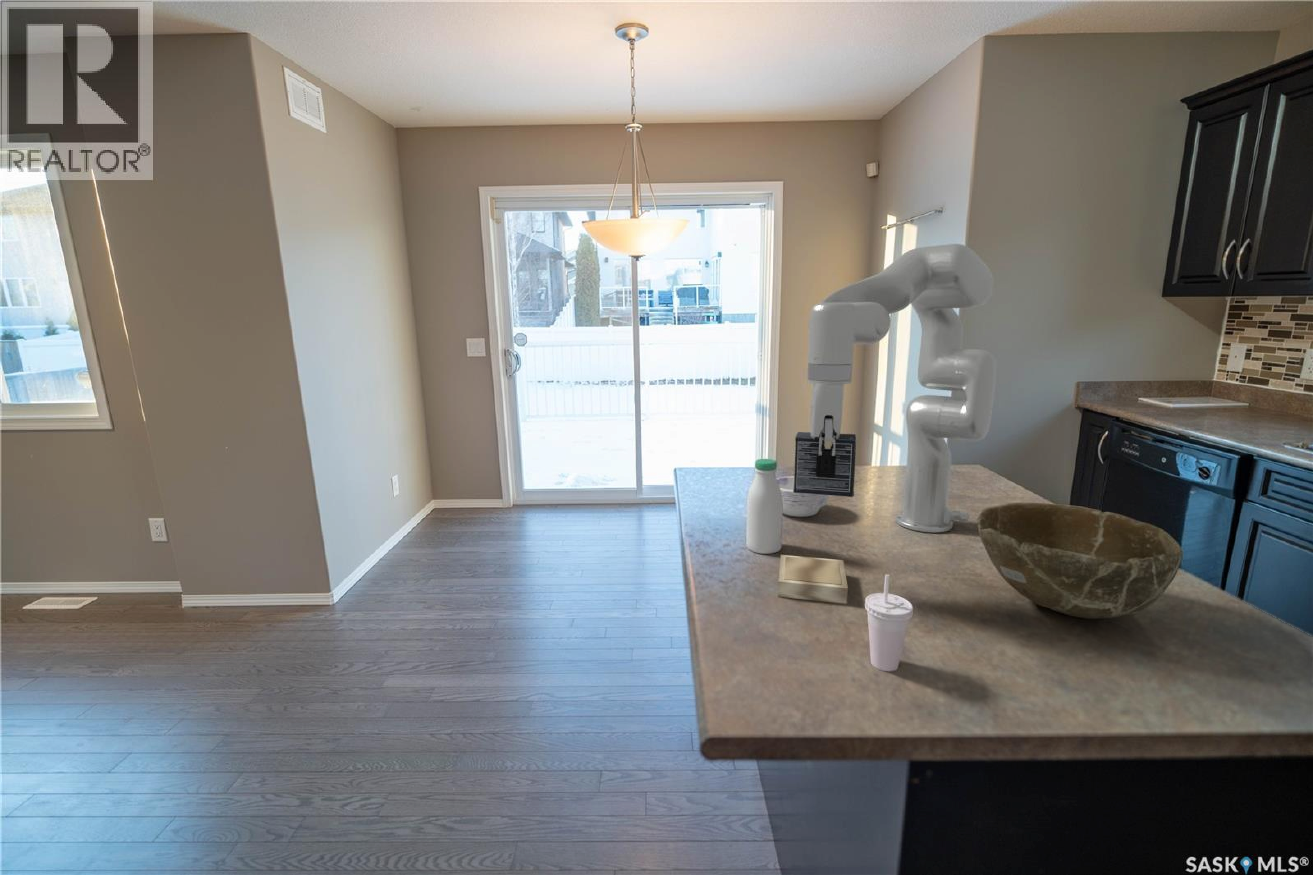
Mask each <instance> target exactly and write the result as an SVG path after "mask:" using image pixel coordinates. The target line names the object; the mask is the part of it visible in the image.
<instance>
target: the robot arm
mask: <svg viewBox="0 0 1313 875" xmlns="http://www.w3.org/2000/svg"><path fill="white" fill-rule="evenodd" d="M994 286H995V285H994V277H993V274H992V272H991V270H990V268H989V267H988V265H986V264H985V262H984V261H983V259H982V258H980V256H979V255H978V254H977V253H976V252H975V251H974V250H972V249H971V248H970V247H968V246H966V245H964V244H961V243H948V244H940V245H933V246H921V247H915V248H912V249H909V250H908V251H906V252H904V253H903V254H901V256H899V257H897V258H896V260H895V261H893V262H892V263H891V264H889V265H888V266H887V267H886V268H884V269H883V270H882V271H881V272H879V273H877V274H875V275H873V276H868V277H867V278H866V277H865V278H863V279H862V280H860V281H857V282H854V283H851V284H849V285H846V286H844V287H842V288H840V289H837V290H836V291H834V292H831V294H829V295H828V296H826V297H825V298H824V299H822V300H821V301H820V302H819V303H816V304H813V306H812V307H811V310H810V313H809V314H810V316H809V317H810V318H809V321H808V328H809V335H808V336H809V337H808V338H809V339H808V354H807V356H808V358H807V362H808V364H807V376H806V377H807V380H806V381H807V383H808V384H809V383H810V384H812V391H811V392H812V393H811V400H810V401H811V405H810V420H809V421H810V426H809V432H810V436H811V438H812V439H815V437H819V453H818V454H817V462H816V476H817V477H826V478H834V477H835V464H836V455H835V440H837V439H839V437H840V434H841V430H842V420H843V411H844V410H843V409H844V396H845V394H844V393H845V385H848V384H851V383H852V379H853V365H854V364H853V362H854V361H853V360H854V346H855V345H872V344H875V343H876V344H877V343H878V342H880V341H881V340H883V339H884V337H886V336H887V334H888V332H889V330H890V328H891V327H890V326H891V316H890V315H891V314H894V313H897V312H898V313H899V312H900V311H903V310H905V309H906V308H908V307H909V306H910V305H911V306H912V308H913V309H914V311H915V313H916V314H917V315H916V316H917V317H918V319H919V323H920V326H921V327H920V328H921V337H920V338H921V339H920V347H919V348H920V349H919V356H918V364H917V366H918V367H917V380H918V383H919V384H920V385H921V387H924V388H927V389H931V390H936V391H937V390H939V391H950V392H962V393H963V392H964V393H965V395H966V397H955V396H949V395H948V396H947V395H936V394H935V395H934V394H927V395H926V394H925V395H919V396H916V397H914V398H913V399H911V400H910V401H909V403H908V405H907V406H906V411H905V420H906V421H905V422H906V429H907V454H906V455H907V456H906V468H905V480H904V483H905V484H904V491H903V494H904V495H903V505H902V511H901V512H898V513H897V514H896V515H895V522H896V523H897V524H898V525H900V526H901V527H904V528H906V529H909V530H911V531H912V530H913V531H916V532H923V533H934V534H935V533H945V532H948V531H950V530H952V528H953V522H954V521H960V522H961V521H962V522H969V519H970V518H969V513H968V512H961V511H960V510H959V509H953V510H952V509H950V508H949V507H948V498H949V489H950V478H951V470H952V469H951V467H952V451H951V450H950V447H949V446H948V444H947V442H946V440H945V439H952V440H960V441H967V442H978V441H982V440H983V439H984V438H985V437H986V436H987V434H988V433H989V429H990V427H991V420H992V415H993V413H992V412H993V407H994V406H993V405H994V399H995V391H996V385H997V384H996V383H997V372H998V368H997V366H998V365H997V361H996V358H995V357H994V355H993V354H992V353H991V352H989V351H988V350H985V349H978V348H977V349H976V348H975V349H974V348H973V349H972V348H963V339H964V338H963V335H964V324H963V322H962V320H961V318H960V316H959V315H958V313H957V312H956V311H955V309H971V308H973V309H974V308H978V307H982V306H983V305H985V304H987V302H988V301H989V300H990V299H991V298H992V297H991V296H992V295H993V291H994ZM821 435H825V437H821ZM832 435H833V438H832ZM835 438H836V439H835ZM822 442H823V443H822Z"/></svg>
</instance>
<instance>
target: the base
mask: <svg viewBox="0 0 1313 875" xmlns="http://www.w3.org/2000/svg"><path fill="white" fill-rule="evenodd" d="M779 559H780V560H779V570H778V580H777V585H778V586H777V597H778V598H779V597H780V598H785V599H787V598H789V599H795V600H796V599H797V600H798V599H799V600H804V601H805V600H806V601H815V602H827V603H834V604H845V605H847V604H848V590H849V588H848V581H847V576H846V569H845V564H844V560H843V559H834V558H833V559H832V558H821V557H811V556H800V555H799V556H797V555H786V554H780V558H779Z"/></svg>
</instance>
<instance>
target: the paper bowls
mask: <svg viewBox="0 0 1313 875" xmlns="http://www.w3.org/2000/svg"><path fill="white" fill-rule="evenodd" d="M776 480H777V483H778V485H779V487H780V490H781V493H782V499H783V515H786V516H789V517H796V518H800V517H801V518H805V517H806V518H807V517H811V516H814V515H816V514H817V513H819V511H820V509H821V508H822V507H825V506H826V505H828V503H829V495H821V494H807V493H794V492H793V488H794V476H793V475H791V476H781V477H776Z"/></svg>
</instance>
